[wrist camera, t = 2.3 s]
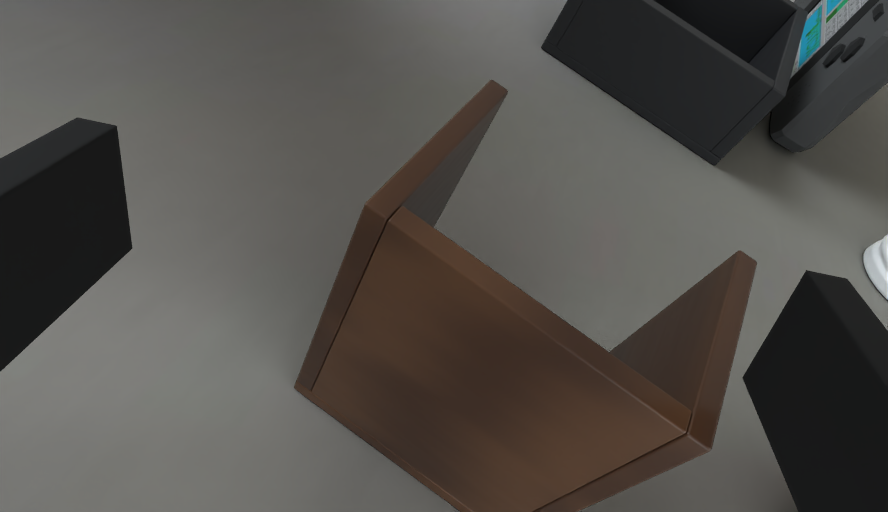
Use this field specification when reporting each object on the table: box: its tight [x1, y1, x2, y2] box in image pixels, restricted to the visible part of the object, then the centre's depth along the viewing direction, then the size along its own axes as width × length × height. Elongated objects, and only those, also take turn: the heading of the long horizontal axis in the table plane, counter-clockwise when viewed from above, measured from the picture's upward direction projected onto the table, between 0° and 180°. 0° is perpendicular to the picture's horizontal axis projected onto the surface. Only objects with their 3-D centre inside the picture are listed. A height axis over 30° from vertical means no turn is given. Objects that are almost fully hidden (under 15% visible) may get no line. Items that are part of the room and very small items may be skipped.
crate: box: [294, 80, 757, 512], centre depth 18 cm, size 9×6×10 cm
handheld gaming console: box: [770, 0, 888, 153], centre depth 44 cm, size 23×3×10 cm, turn 154°
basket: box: [541, 0, 808, 165], centre depth 39 cm, size 13×13×6 cm
